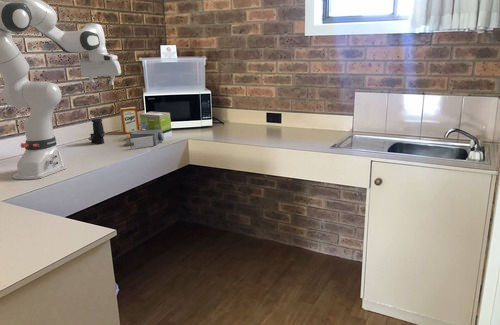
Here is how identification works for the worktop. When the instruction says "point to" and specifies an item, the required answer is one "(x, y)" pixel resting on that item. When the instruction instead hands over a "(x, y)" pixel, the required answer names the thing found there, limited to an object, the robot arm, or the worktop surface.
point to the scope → (97, 132)
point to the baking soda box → (129, 120)
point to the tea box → (157, 122)
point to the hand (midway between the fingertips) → (103, 85)
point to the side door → (142, 142)
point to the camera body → (149, 134)
